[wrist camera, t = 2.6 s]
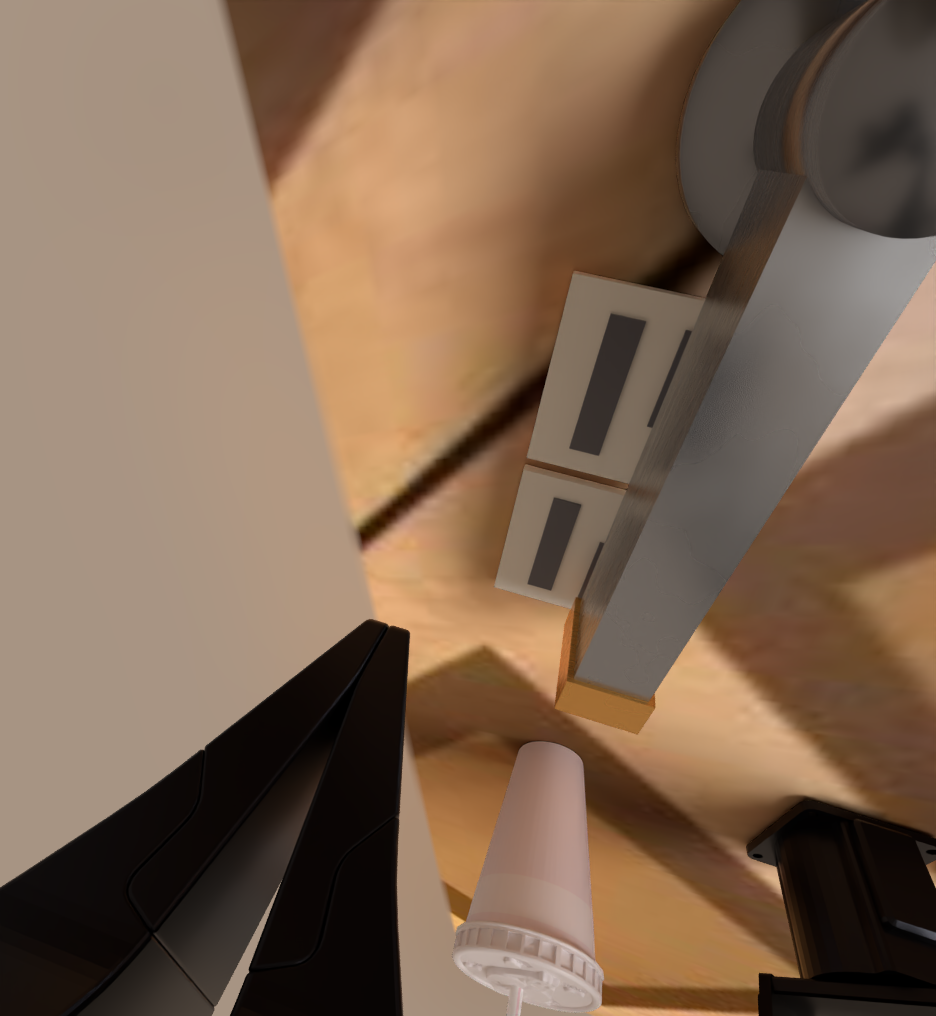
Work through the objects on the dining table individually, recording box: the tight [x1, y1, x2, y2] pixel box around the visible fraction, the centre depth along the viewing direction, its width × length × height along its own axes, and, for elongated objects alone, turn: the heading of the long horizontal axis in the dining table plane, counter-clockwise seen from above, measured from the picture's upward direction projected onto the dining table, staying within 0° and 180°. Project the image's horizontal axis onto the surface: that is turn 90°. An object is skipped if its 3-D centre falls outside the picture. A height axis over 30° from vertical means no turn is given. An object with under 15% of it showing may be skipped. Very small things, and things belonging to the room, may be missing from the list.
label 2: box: [494, 464, 626, 609], centre depth 19 cm, size 6×6×1 cm
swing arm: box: [554, 0, 936, 734], centre depth 13 cm, size 18×3×4 cm, turn 171°
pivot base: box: [676, 0, 867, 255], centre depth 11 cm, size 6×6×1 cm
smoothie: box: [452, 741, 604, 1016], centre depth 23 cm, size 6×6×14 cm
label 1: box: [527, 271, 706, 484], centre depth 15 cm, size 6×6×1 cm
